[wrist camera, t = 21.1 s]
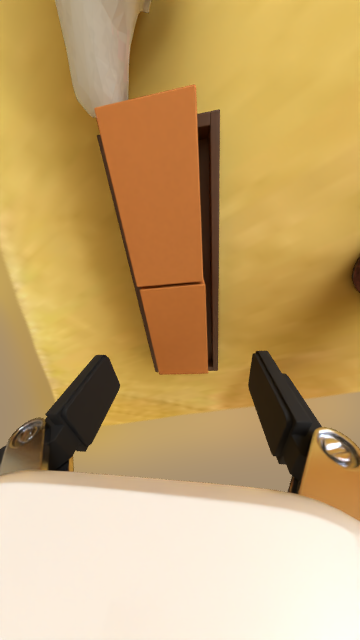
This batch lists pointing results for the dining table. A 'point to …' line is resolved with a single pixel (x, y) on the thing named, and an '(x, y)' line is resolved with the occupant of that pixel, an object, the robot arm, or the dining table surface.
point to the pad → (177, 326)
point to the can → (356, 275)
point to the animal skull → (99, 47)
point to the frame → (209, 227)
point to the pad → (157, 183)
